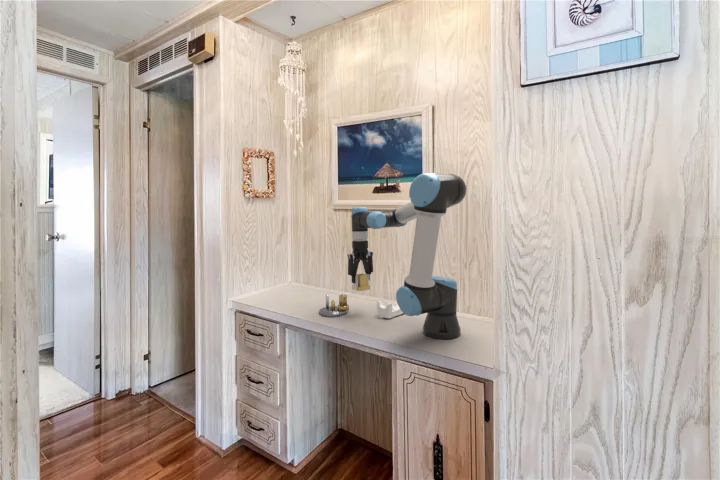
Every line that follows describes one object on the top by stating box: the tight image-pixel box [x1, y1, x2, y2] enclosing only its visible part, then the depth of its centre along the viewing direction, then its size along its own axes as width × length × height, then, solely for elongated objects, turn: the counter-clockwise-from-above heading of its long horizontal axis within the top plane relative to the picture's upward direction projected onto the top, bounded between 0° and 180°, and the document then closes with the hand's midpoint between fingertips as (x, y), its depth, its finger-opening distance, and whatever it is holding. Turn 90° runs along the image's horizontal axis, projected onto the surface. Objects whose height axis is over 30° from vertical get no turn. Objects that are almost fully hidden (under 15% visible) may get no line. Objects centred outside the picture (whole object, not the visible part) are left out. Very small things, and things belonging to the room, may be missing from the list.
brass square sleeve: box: [352, 273, 371, 292], centre depth 176 cm, size 6×6×7 cm
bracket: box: [376, 300, 404, 319], centre depth 176 cm, size 13×7×8 cm, turn 134°
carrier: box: [319, 293, 350, 318], centre depth 180 cm, size 13×14×9 cm
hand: (361, 288), depth 176 cm, fingers closed on brass square sleeve, 6 cm apart
